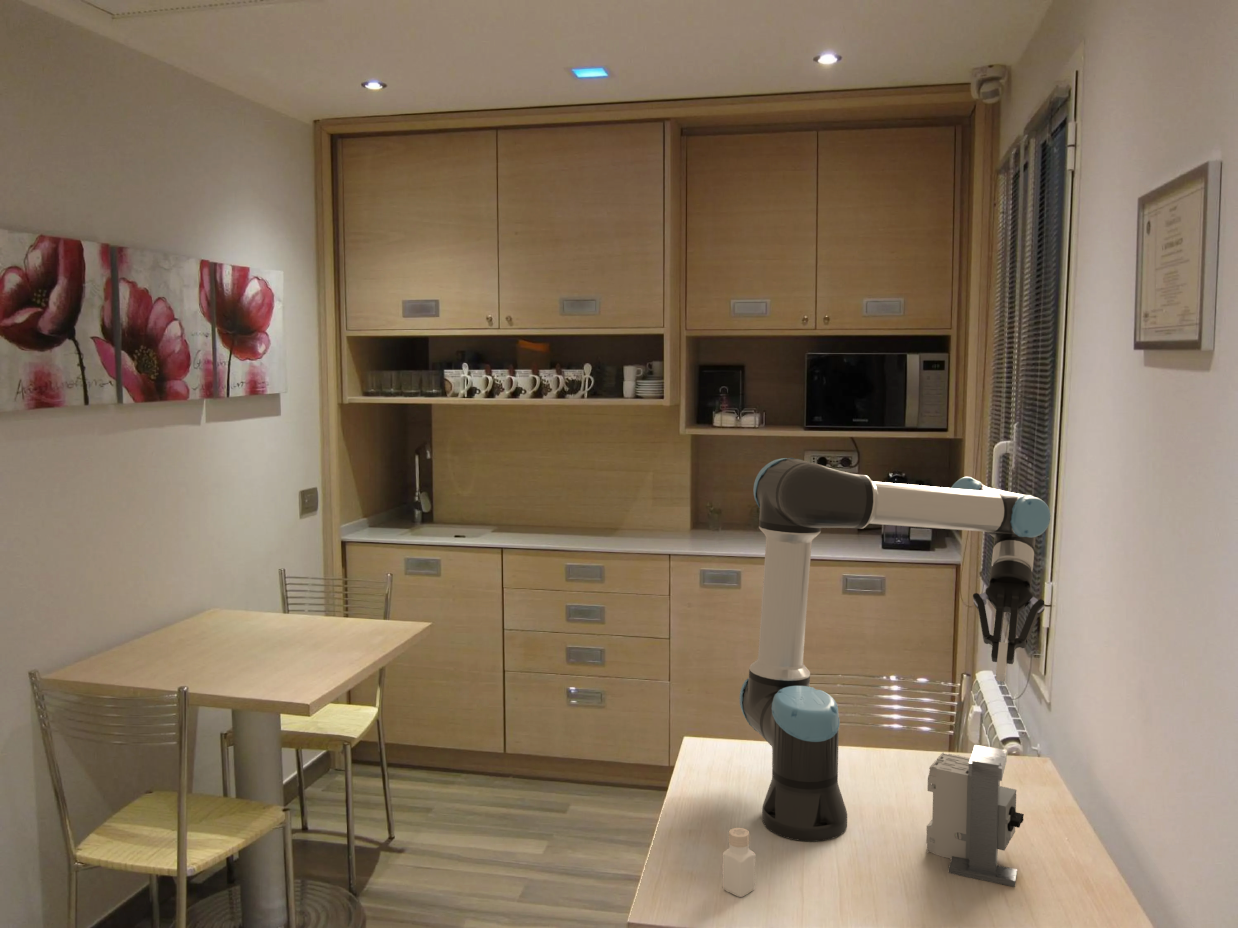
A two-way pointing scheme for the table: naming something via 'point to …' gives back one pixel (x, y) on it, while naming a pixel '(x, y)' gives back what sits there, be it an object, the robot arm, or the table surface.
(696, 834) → the table surface
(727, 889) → the pepper shaker
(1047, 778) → the table surface
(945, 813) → the circuit breaker
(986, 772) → the bracket
